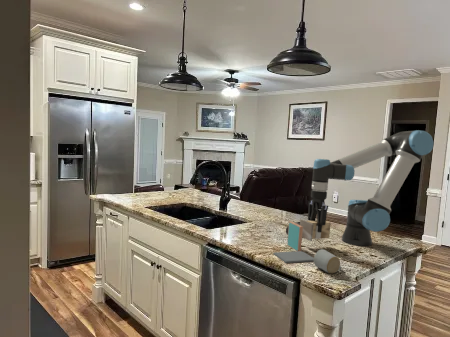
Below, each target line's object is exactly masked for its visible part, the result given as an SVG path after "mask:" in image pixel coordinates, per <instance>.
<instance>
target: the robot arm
mask: <svg viewBox="0 0 450 337" xmlns="http://www.w3.org/2000/svg"><path fill="white" fill-rule="evenodd" d="M434 142H435V141H434V140H433V136H432V135H431V134H430V133H429V132H428V131H425V130H419V129H418V130H417V129H416V130H408V131H407V130H406V131H399V132H397V133H394V134H393V135H391V136H388V137H385V138H383V139H381V140H380V142H378V143H376V144H374V145H372V146H369V147H367V148H364V149H361V150H358V151H356V152H354V153H351V154H349V155H346V156H344V157H341V158H338V159H336V160H333V161H331V160H330V159H325V158H323V159H322V158H315V159H314V160H313V161H314V162H313V167H312V178H311V179H312V180H311V190H310V197H311V200H308V201H307V202H308V203H307V204H308V211H307V212H308V213H307V221H317V224H316V232H315V238H316V239H317V240H319V239H320V238H321V232H322V226H323V225H325V224H326V221H327V217H328V216H327V214H328V210H329V205H326V204H325V200H326V199H327V198H328V189H329V188H328V187H329V180H338V181H339V180H342V181H352V180H353V179H354V177H355V169H356V168H359V167H361V166H363V165H366V164H369V163H371V162H374V161H376V160H379V159H381V158H384V157H391V156H395V155H396V157H394V160H393V162H392V163H391V165H390V166H389V168H388V171H387V172H386V174H385V176H384V177H383V179H382V181H381V182H380V184H379V186H378V188H377V190H376V192H375V193H374V195H373V196H372V197H370V198H368V199H367V200H364V199H350V200H349V201H348V204H347V218H346V227H345V229H344V231H343V233H342V235H341V240H342V241H343V242H344V243H347V244H350V245H354V246H361V247H368V246H372V244H373V239H372V235H371V232H376V233H377V232H381V231H382V232H383V231H384V230H386V229H387V228H388V227H389V225H390V223H391V216H390V214H391V213H392V208H391V206H392V204H393V201H395V198H396V196H397V194H398V193H399V191H400V189H401V187H403V184H404V182H405V180H406V179H407V178H408V175H409V174H410V172H411V170H412V168H413V167H414V165H415V164H417V163H419V162H421V160H422V158H423V156H426V155H428V154H430V153H431V151H433V149H434ZM316 239H315V240H316ZM320 240H321V239H320Z"/></svg>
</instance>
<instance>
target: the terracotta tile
mask: <svg viewBox="0 0 450 337" xmlns="http://www.w3.org/2000/svg"><path fill="white" fill-rule="evenodd" d="M288 226H289V229H288V235H287V243H286V244H287V247H289V246H290V247H289V248H291V249H293V250H294V251H302V244H303V241H302V240H303V237H302V232H303V227H302V226H300V225H298V224H296V223H295V222H294V221H288Z"/></svg>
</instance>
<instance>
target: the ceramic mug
mask: <svg viewBox="0 0 450 337" xmlns="http://www.w3.org/2000/svg"><path fill="white" fill-rule="evenodd" d="M313 258H314V261H313V264H314V266H315V267H317V268H319V269H320V270H322V271H323V272H326V273H328V274H334V273H337V272H338V271H342V268H343V267H342V266H341V260H340V259H339V257H338V256H336V255H335V254H333V253H331V252H329V251H328V250H326V249H318V250H317V251H316V253H315V254H314V256H313Z"/></svg>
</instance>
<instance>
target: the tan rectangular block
mask: <svg viewBox="0 0 450 337" xmlns="http://www.w3.org/2000/svg"><path fill="white" fill-rule="evenodd" d="M299 222H300V226H302V227H303V232H302V238H304V239H305V240H308V241H309V242H312V241H313V240H316V238H315V232H316V224H317V220H315V221H309V220H304V219H303V218H302V219H301V218H300V220H299ZM331 224H332V223H331V221H328V220H326V224H325V225H323V226H322V232H321V238H320V240H321V239H324V240H325V239H330V233H331Z"/></svg>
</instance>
